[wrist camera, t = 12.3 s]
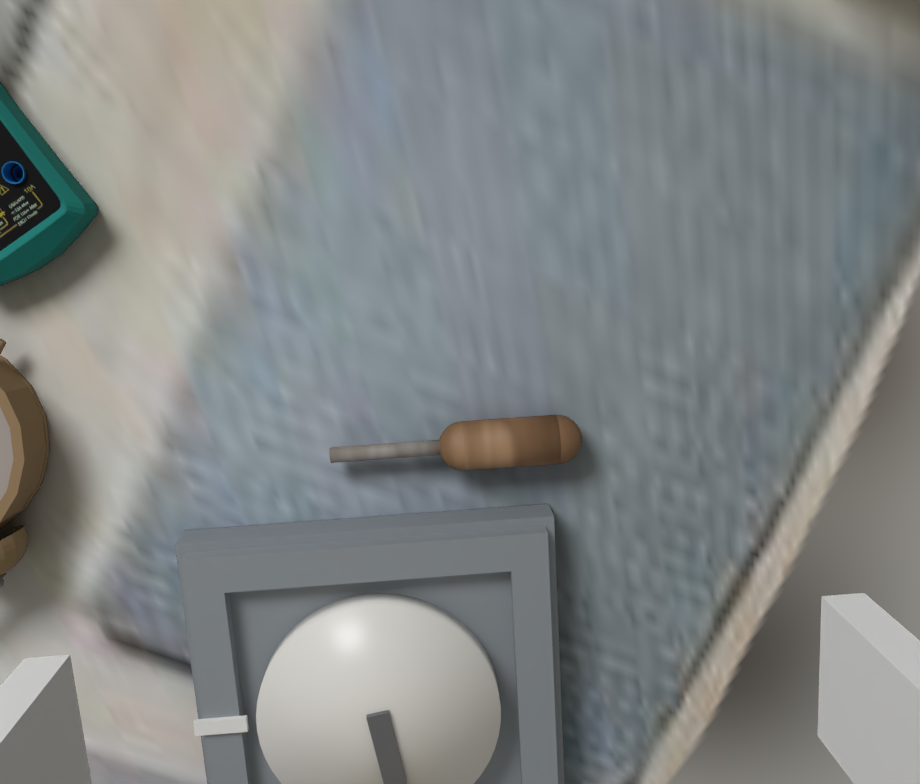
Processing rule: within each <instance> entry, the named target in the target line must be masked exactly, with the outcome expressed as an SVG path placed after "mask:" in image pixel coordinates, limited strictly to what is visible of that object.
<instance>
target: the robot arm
mask: <svg viewBox="0 0 920 784" xmlns="http://www.w3.org/2000/svg"><path fill="white" fill-rule="evenodd" d="M820 636H821V637H820V671H819V707H818V737H819V738H820V740H821V741H822V742H823V744H824V745H825V746H826V748H827V749H828V750H829V751H830V753H831V754H832V755H833V757H834V758H835V759H836V761H837V762H838V763H839V765H840V766H841V767H842V769H843V770H844V771H845V773H846V774H847V775H848V776H849V778H850V779H851V780H852V781H853V783H854V784H920V641H919V640H918V639H917V638H916V637H915V636H914V635H912V634H911V633H910V632H909V631H908V630H906V629H905V628H904V627H903V626H902V625H901V624H900V623H898V622H897V621H896V620H895V619H894V618H893V617H891V616H890V615H889V614H888V613H887V612H886V611H884V610H883V609H882V608H881V607H880V606H878V605H877V604H876V603H875V602H874V601H873V600H871V599H870V598H869V597H868V596H867V595H866V594H865V593H859V594H846V595H833V596H822V600H821V635H820ZM0 784H92V782H91V777H90V771H89V765H88V759H87V753H86V747H85V741H84V735H83V729H82V723H81V717H80V711H79V705H78V699H77V693H76V687H75V681H74V676H73V670H72V664H71V658H70V655H60V656H47V657H35V658H25V659H24V660H23V661H22V662H21V663H20V664H19V665H18V667H17V668H16V669H15V670H14V671H13V672H12V673H11V674H10V676H9V677H8V678H7V679H6V680H5V681H4V682H3V684H2V685H1V686H0Z"/></svg>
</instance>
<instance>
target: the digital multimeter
mask: <svg viewBox="0 0 920 784" xmlns="http://www.w3.org/2000/svg"><path fill="white" fill-rule="evenodd" d="M2 123H3V124H2ZM5 127H6V128H5ZM8 131H9V132H8ZM11 135H12V136H11ZM21 148H22V149H21ZM24 152H25V153H24ZM27 156H28V157H27ZM30 160H31V161H30ZM33 164H34V165H33ZM36 168H37V169H36ZM39 172H40V173H39ZM42 176H43V177H42ZM45 180H46V181H45ZM48 184H49V185H48ZM51 188H52V189H51ZM54 192H55V193H54ZM57 196H58V197H57ZM97 210H98V208H97V206H96V204H95V202H94V201H93V200H92V199H91V197H90V196H89V195H88V194H87V193H86V191H85V190H84V189H83V188H82V187H81V185H80V184H79V183H78V182H77V180H76V179H75V178H74V177H73V176H72V174H71V173H70V172H69V171H68V169H67V168H66V167H65V166H64V165H63V163H62V162H61V161H60V160H59V158H58V157H57V156H56V155H55V153H54V152H53V151H52V150H51V148H50V147H49V146H48V144H47V143H46V142H45V141H44V139H43V138H42V137H41V136H40V134H39V133H38V132H37V130H36V129H35V128H34V127H33V125H32V124H31V123H30V122H29V120H28V119H27V118H26V117H25V115H24V114H23V113H22V111H21V110H20V109H19V108H18V106H17V105H16V104H15V103H14V101H13V100H12V98H11V97H10V96H9V94H8V93H7V91H6V90H5V89H4V87H3V86H2V85H1V83H0V285H3V284H6V283H8V282H11V281H14V280H17V279H19V278H21V277H23V276H26V275H28V274H30V273H32V272H34V271H36V270H38V269H40V268H42V267H43V266H45V265H46V264H48V263H49V262H51V261H52V260H53V259H55V258H56V257H58V256H59V255H60V254H62V253H63V252H64V251H65V250H66V249H67V248H68V247H69V246H70V245H71V244H72V243H73V242H74V241H75V240H76V239H77V238H78V236H79V235H80V234H81V233H82V232H83V230H84V229H85V228H86V227H87V226H88V224H89V223H90V222H91V221H92V220H93V218H94V217H95V216H96V215H97Z"/></svg>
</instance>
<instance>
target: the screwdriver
mask: <svg viewBox="0 0 920 784" xmlns="http://www.w3.org/2000/svg"><path fill="white" fill-rule="evenodd" d="M581 443H582V435H581V432H580V429H579V427H578V426H577V424H576V423H575V422H574V421H573V420H571V419H570V418H568V417H566V416H562V415H546V416H532V417H517V418H503V419H489V420H474V421H461V422H456V423H453V424H451V425H450V426H448V427H447V428H446V429H445V430H444V431H443V433H442V435H441V437H440V440H432V441H417V442H403V443H389V444H374V445H360V446H346V447H331V448H330V461H331V463H335V462H349V461H363V460H378V459H392V458H406V457H420V456H435V455H441V457H442V459H443V460H444V462H445V463H446V464H447V465H449V466H450V467H452V468H454V469H457V470H479V469H493V468H507V467H521V466H535V465H549V464H561V463H565V462H568V461H570V460H571V459H573V458H574V457H575V456H576V455H577V453H578V452H579V450H580V447H581Z"/></svg>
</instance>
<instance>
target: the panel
mask: <svg viewBox="0 0 920 784" xmlns="http://www.w3.org/2000/svg"><path fill="white" fill-rule="evenodd" d="M175 549H176V557H177V564H178V571H179V579H180V586H181V593H182V601H183V608H184V615H185V623H186V630H187V637H188V645H189V652H190V659H191V667H192V674H193V681H194V689H195V696H196V703H197V711H198V718H199V719H194V722H193V726H194V733H195V736H201V740H202V747H203V755H204V762H205V769H206V777H207V784H281V783H280V781H279V780H278V779H277V777H276V776H275V774H274V773H273V772H272V770H271V768H270V766H269V765H268V763H267V761H266V759H265V757H264V754H263V751H262V749H261V746H260V742H259V738H258V733H257V724H256V709H257V700H258V696H259V691H260V687H261V684H262V681H263V678H264V675H265V672H266V669H267V667H268V664H269V662H270V659H271V657H272V656H273V654H274V652H275V650H276V648H277V647H278V645H279V644H280V643H281V641H282V640H283V639H284V637H285V636H286V635H287V634H288V633H289V632H290V631H291V630H292V629H293V628H294V627H295V625H296V624H298V623H299V622H300V621H301V620H303V619H304V618H305V617H307V616H308V615H309V614H311V613H313V612H314V611H316V610H318V609H319V608H321V607H323V606H325V605H328V604H330V603H332V602H335V601H337V600H340V599H344V598H347V597H351V596H356V595H362V594H368V593H391V594H401V595H406V596H410V597H415V598H418V599H421V600H424V601H427V602H430V603H432V604H434V605H436V606H438V607H440V608H442V609H444V610H446V611H447V612H449V613H450V614H452V615H453V616H455V617H456V618H458V619H459V620H460V621H461V622H462V623H463V624H464V625H466V626H467V627H468V628H469V629H470V630H471V632H472V633H473V634H474V635H475V636H476V637H477V638H478V640H479V641H480V643H481V644H482V646H483V647H484V649H485V651H486V652H487V655H488V657H489V659H490V661H491V663H492V666H493V669H494V672H495V676H496V680H497V686H498V692H499V699H500V705H501V723H500V730H499V736H498V740H497V743H496V747H495V750H494V752H493V754H492V757H491V759H490V761H489V763H488V765H487V766H486V768H485V769H484V771H483V773H482V774H481V776H480V777H479V778H478V779H477V780H476V782H475V783H474V784H565V782H564V756H563V731H562V706H561V680H560V655H559V630H558V604H557V579H556V554H555V528H554V515H553V513H552V511H551V508H550V506H549V504H539V505H525V506H512V507H498V508H484V509H470V510H457V511H443V512H429V513H416V514H402V515H388V516H374V517H361V518H347V519H333V520H319V521H306V522H292V523H278V524H265V525H251V526H237V527H223V528H210V529H196V530H185V531H184V532H183V534H182V535H181V536H180V538H179V539H178V540H177V542H176V543H175Z"/></svg>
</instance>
